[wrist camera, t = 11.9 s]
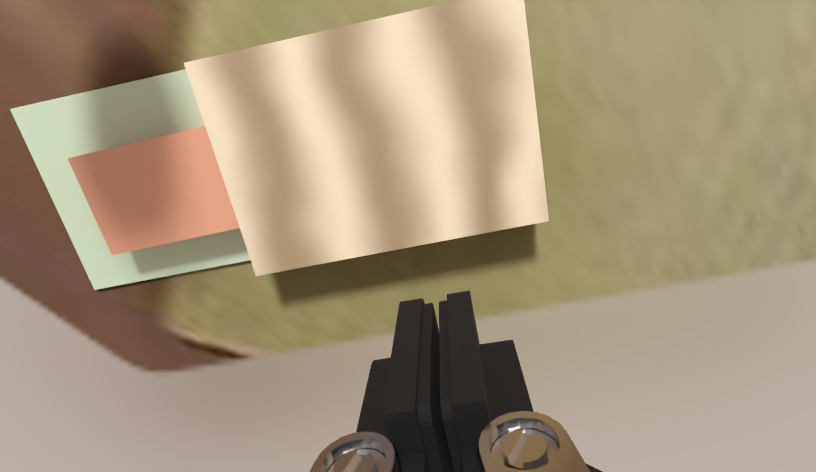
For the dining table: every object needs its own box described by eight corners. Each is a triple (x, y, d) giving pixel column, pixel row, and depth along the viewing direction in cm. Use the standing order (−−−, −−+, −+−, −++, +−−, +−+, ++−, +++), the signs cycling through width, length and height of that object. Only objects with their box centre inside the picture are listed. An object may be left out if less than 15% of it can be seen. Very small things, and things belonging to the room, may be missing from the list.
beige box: (508, -4, 30) (522, -15, 26) (534, 204, 34) (548, 221, 31) (211, 64, 32) (183, 63, 28) (272, 254, 36) (256, 276, 32)
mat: (204, 65, 32) (202, 65, 31) (266, 255, 36) (265, 257, 36) (13, 108, 33) (9, 109, 32) (97, 288, 37) (94, 289, 37)
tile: (225, 121, 33) (210, 125, 30) (257, 216, 35) (246, 226, 32) (91, 152, 33) (67, 158, 31) (131, 243, 36) (111, 255, 33)
